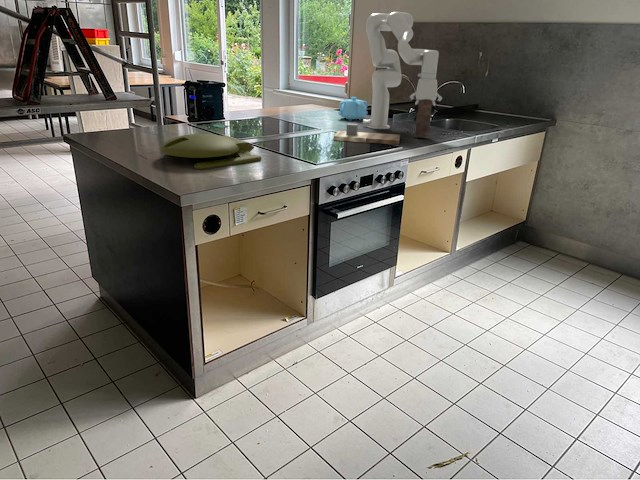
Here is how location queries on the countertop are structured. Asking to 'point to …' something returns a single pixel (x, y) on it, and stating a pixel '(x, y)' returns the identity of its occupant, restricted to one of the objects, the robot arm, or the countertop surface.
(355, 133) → the gray cube
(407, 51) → the robot arm
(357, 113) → the decorative pot
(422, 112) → the brown wooden block
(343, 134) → the light wood flat board
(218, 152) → the spaceship
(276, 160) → the countertop surface
